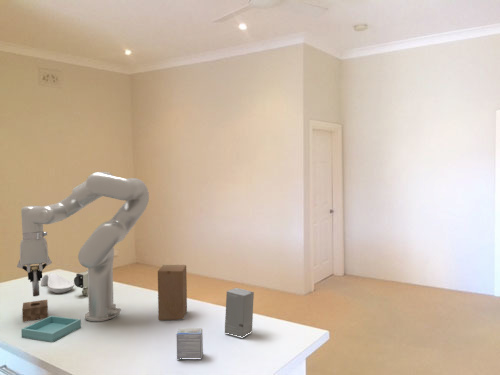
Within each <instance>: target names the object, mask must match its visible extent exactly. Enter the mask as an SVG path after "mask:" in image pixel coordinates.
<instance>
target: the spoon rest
mask: <svg viewBox="0 0 500 375" xmlns="http://www.w3.org/2000/svg"><path fill="white" fill-rule="evenodd" d="M40 286H41V287H43V286H48V289H49V290H50V291H51V292H52V293H55V294H64V293H67V292H69V291H71V290H72V289H73V288H74V287H75V284H74V281H73V280H70V279H68V278H66V277H63V276H61V275H59V274H56V273H54V272H53V273H52V272H51V273H50V274H47V273H46V274H45V275H44V276H42V278H41V281H40Z"/></svg>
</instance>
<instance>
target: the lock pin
mask: <svg viewBox="0 0 500 375" xmlns="http://www.w3.org/2000/svg"><path fill="white" fill-rule="evenodd" d="M30 270H31V271H32V282H31V285H32V287H31V288H32V297H39V296H40V281H39V279H38V270H39V264H32V265H30Z"/></svg>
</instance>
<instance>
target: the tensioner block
mask: <svg viewBox="0 0 500 375" xmlns="http://www.w3.org/2000/svg"><path fill="white" fill-rule="evenodd" d="M48 302H49V301H48V299H42V300H33V301H26V302H23V303H22V307H21V308H22V309H21V310H22V313H21V314H22V323H25V322H29V321H32V322H33V321H37V320H43V319H45V318H47V317H49V309H48V306H49V304H48Z"/></svg>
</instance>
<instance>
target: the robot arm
mask: <svg viewBox="0 0 500 375" xmlns="http://www.w3.org/2000/svg"><path fill="white" fill-rule="evenodd" d="M102 197H106V198H110V199H115V200H120V201H124V203H123V204H122V205H121V207H119V209H118V210H117V212H116V213H115V214H114V215H113V217H112V218H111V219H109V220H107V221H105V222H103V223H101V224H100V225H98V226H97V227H96V228H95V229H94V231H93V232H92V234H91V235H89V237H88V238H87V240H86V241H85V242H84V244H83V245H82V246H81V248H80V249H79V251H78V255H77V257H78V258H77V259H78V262H79V264H80V265H81V266H82V267H84V268H86V269H87V270H88V296H87V297H88V298H87V299H88V312H86V313H85V314H84V319H85V320H87V321H89V322H103V321H109V320H111V319H113V318H116V317H117V316H119V315H120V314H121V312H122V308H118V307H117V306H116V303H114V274H113V273H114V272H113V271H114V270H113V269H114V257H115V250H114V247H115V246H116V245H117V244H119V243H121V242H122V241H123V240H124V239H125V238H126V236H127V235H128V234H129V232H131V230H132V229H133V227H134V226H135V225H136V224H137V222H138V220H140V218H141V216H142V215H143V214H144V212H145V210H147V207H148V205H149V200H150V194H149V190H148V187H147V185H146V183H145V182H144V181H143V180H142V179H139V178H136V177H131V178H125V177H124V178H123V177H121V176H114V175H113V174H112V173H111V172H108V171H96V172H93V173H91V174H90V175H88V177H87V179H86V180H85V181H84V182H82V183H80V184H78V185H77V186H75V187H73V188H72V191H71V194H70V195H68V196H67V197H66V198H63V199H62V200H60V201H58V202H57V203H52V204H47V205H43V206H42V205H26V206H23V207H22V208H21V211H20V212H21V216H20V217H21V229H22V231H21V232H22V233H21V234H22V239H21V240H20V245H19V260H18V263H17V264H16V268H19V269H23V270H24V271H25V272H27V280H28V281H30V283H32V270H30V266H33V265H39V269H38V279H39V282H41V281H42V278H43V271H44V269H45V268H46V267H47V266H49V265H51V264H52V263H53V262H52V260H51V258H50V257H49V251H48V243H47V239H46V236H48V232H47V231H44V225H51V224H56V223H58V222H61V221H64V220H66V219H67V218H69V217H71V216H73V215H75V214H76V213H77V212H80V211H81V210H82V209H84V208H85V207H86V206H88V205H89V204H92V203H94V202H95V201H97V200H98V199H100V198H102Z"/></svg>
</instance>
